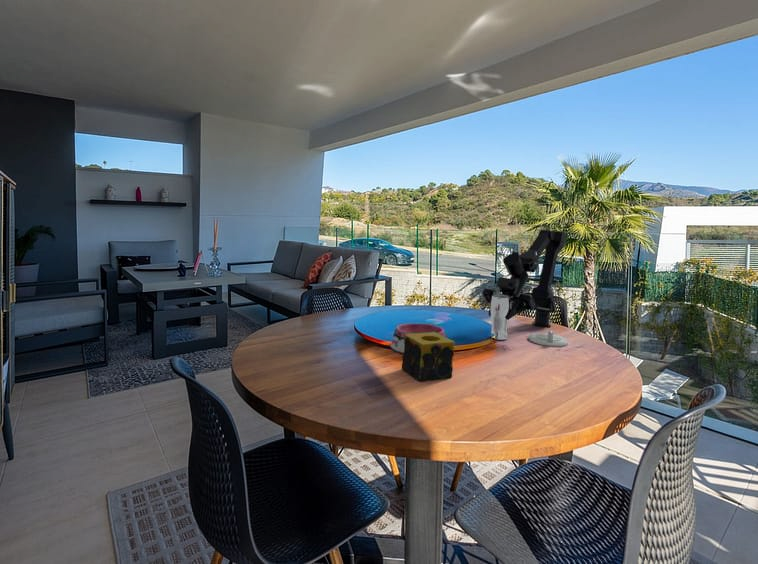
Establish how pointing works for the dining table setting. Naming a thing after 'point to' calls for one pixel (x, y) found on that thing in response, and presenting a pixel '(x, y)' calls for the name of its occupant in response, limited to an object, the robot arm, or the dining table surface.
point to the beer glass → (500, 315)
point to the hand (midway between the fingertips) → (498, 317)
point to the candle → (428, 356)
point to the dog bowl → (411, 328)
